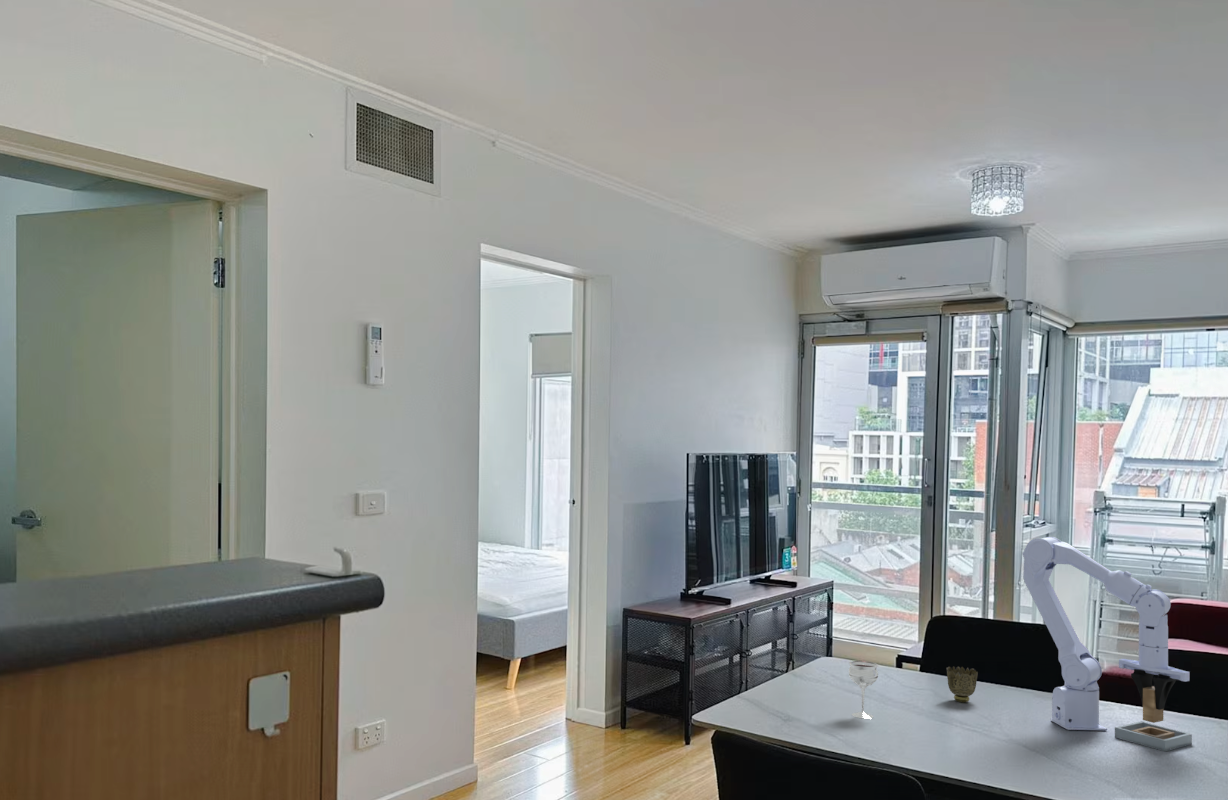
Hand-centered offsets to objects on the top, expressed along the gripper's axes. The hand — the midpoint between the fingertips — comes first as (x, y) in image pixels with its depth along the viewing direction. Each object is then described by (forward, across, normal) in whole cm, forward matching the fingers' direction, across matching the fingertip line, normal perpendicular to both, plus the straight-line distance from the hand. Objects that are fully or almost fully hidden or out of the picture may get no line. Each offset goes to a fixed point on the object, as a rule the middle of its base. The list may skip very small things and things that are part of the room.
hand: (1153, 707), depth 211 cm
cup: (+7, +42, +11) cm, 44 cm away
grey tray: (+7, 0, 0) cm, 7 cm away
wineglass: (+7, +44, +45) cm, 63 cm away
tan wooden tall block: (+3, 0, 0) cm, 3 cm away
